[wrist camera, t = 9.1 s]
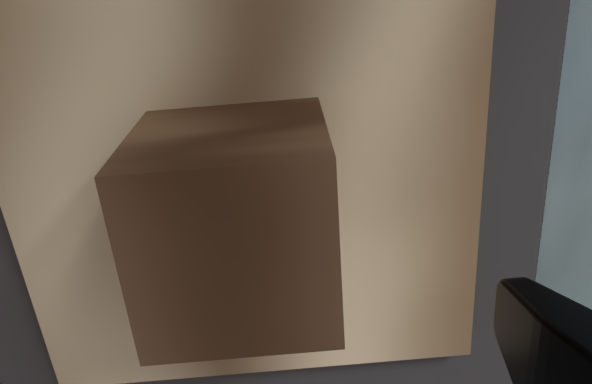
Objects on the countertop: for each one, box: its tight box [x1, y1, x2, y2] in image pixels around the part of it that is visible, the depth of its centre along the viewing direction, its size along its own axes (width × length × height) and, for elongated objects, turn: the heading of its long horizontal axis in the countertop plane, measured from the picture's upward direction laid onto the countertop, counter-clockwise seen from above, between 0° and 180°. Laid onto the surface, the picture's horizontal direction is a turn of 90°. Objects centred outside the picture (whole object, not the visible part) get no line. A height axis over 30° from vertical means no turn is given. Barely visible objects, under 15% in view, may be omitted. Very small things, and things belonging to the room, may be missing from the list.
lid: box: [0, 0, 496, 384], centre depth 12 cm, size 12×12×5 cm
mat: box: [0, 0, 570, 384], centre depth 14 cm, size 16×16×1 cm
